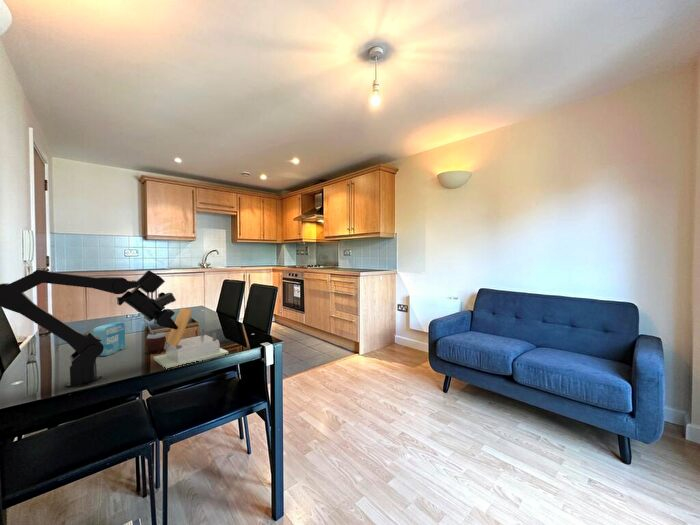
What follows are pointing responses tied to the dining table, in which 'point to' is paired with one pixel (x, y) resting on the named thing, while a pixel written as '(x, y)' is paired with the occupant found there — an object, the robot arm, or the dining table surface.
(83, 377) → the robot arm
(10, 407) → the dining table surface
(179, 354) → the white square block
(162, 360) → the board
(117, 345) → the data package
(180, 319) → the thin wooden panel
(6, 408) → the dining table surface
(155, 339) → the mate gourd
